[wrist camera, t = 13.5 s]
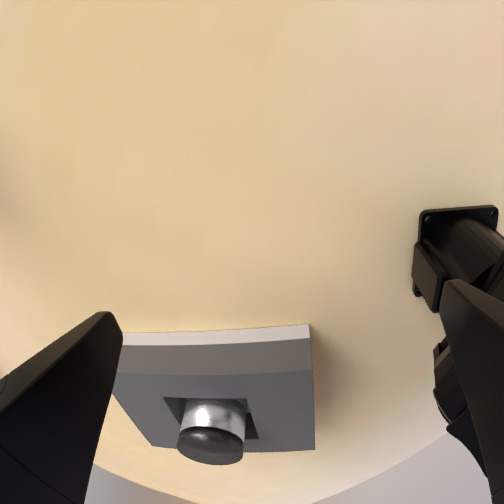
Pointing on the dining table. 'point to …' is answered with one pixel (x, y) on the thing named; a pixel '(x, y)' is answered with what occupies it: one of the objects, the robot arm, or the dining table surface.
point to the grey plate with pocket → (221, 382)
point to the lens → (213, 430)
